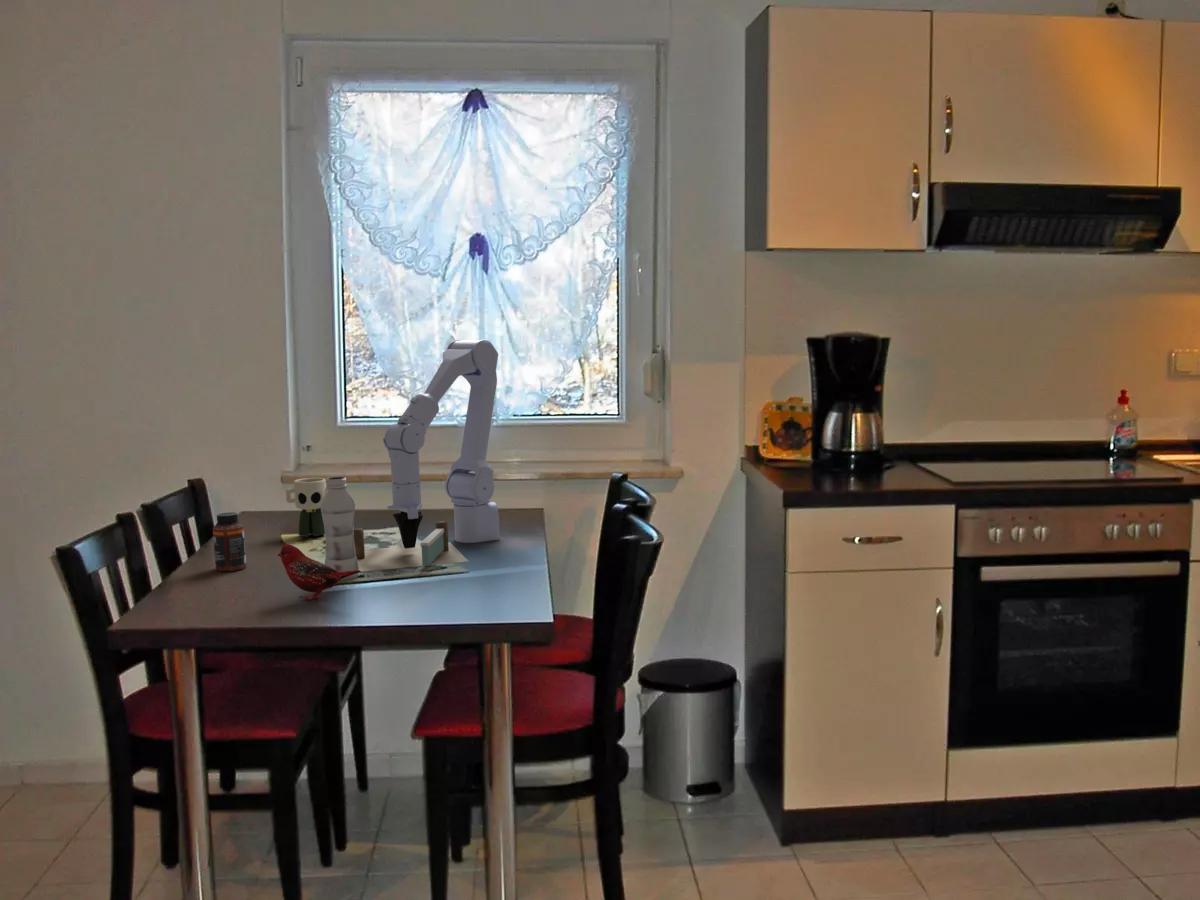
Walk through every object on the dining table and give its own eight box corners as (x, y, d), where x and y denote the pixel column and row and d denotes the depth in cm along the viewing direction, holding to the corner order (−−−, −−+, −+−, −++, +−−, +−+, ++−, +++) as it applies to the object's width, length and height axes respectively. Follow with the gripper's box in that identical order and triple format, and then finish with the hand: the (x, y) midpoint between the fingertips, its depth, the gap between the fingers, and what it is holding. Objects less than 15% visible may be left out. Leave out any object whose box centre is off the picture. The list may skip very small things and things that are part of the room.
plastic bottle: (329, 588, 213) (323, 482, 210) (320, 580, 219) (314, 477, 216) (363, 583, 216) (358, 478, 213) (354, 576, 222) (348, 474, 219)
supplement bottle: (252, 566, 233) (249, 511, 231) (234, 573, 227) (230, 517, 226) (228, 564, 235) (224, 510, 233) (209, 571, 229) (205, 515, 228)
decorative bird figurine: (285, 595, 208) (281, 541, 207) (367, 603, 201) (364, 547, 200) (274, 599, 205) (271, 545, 204) (357, 607, 199) (354, 551, 197)
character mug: (286, 540, 258) (282, 483, 256) (290, 534, 265) (287, 478, 263) (335, 537, 259) (332, 481, 257) (338, 531, 266) (335, 476, 264)
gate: (437, 550, 236) (436, 528, 236) (444, 549, 236) (443, 528, 236) (421, 565, 222) (420, 543, 222) (429, 565, 222) (428, 542, 222)
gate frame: (450, 546, 246) (448, 514, 246) (468, 566, 228) (467, 531, 227) (346, 556, 240) (344, 523, 239) (356, 577, 221) (354, 541, 220)
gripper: (381, 478, 239) (384, 542, 241) (391, 489, 226) (395, 556, 227) (415, 476, 241) (418, 539, 243) (427, 486, 228) (430, 553, 230)
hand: (409, 547), depth 235 cm, fingers closed
